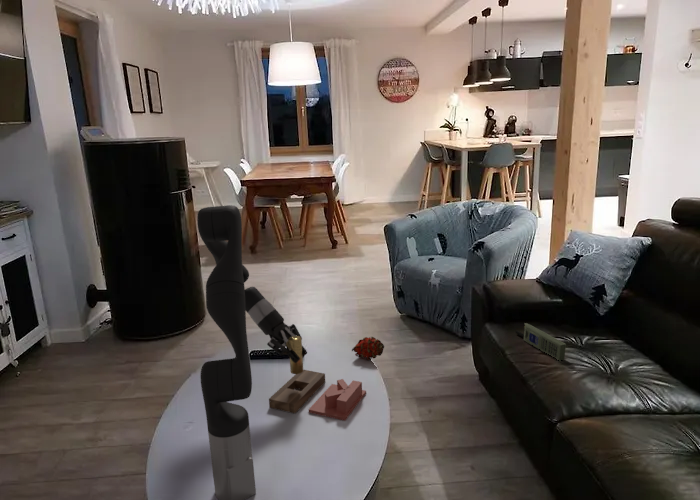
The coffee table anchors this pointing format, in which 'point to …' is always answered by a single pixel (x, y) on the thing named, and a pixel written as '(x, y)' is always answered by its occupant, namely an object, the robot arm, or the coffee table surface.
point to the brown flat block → (293, 398)
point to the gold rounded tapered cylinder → (296, 345)
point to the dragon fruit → (369, 348)
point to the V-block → (339, 400)
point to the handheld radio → (543, 341)
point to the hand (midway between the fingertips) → (301, 357)
